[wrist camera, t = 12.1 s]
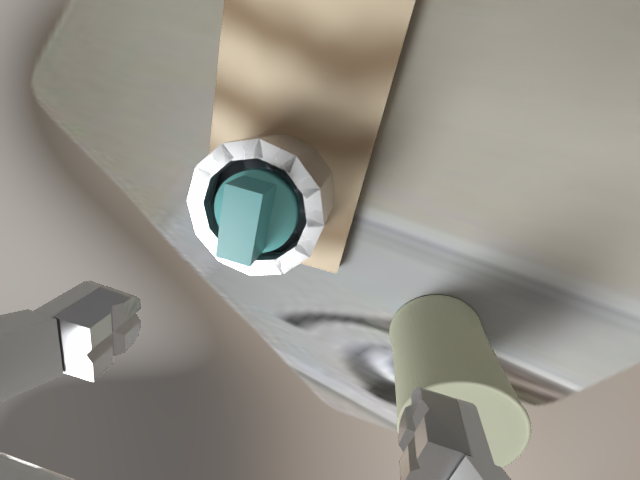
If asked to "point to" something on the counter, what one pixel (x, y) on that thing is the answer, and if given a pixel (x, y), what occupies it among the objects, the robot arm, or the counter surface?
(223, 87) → the base plate
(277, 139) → the white thick faceted ring
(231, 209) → the teal disc with post
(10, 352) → the robot arm
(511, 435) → the can
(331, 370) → the counter surface
